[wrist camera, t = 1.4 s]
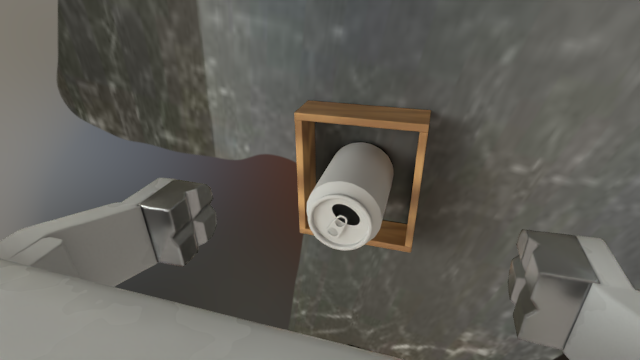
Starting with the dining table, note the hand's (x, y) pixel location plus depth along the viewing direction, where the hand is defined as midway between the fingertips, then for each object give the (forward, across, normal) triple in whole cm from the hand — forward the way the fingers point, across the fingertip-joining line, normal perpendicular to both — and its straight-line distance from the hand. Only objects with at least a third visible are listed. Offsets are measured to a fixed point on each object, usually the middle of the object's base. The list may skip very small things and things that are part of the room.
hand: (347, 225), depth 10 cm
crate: (+31, +5, +14) cm, 34 cm away
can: (+31, +5, +14) cm, 35 cm away
